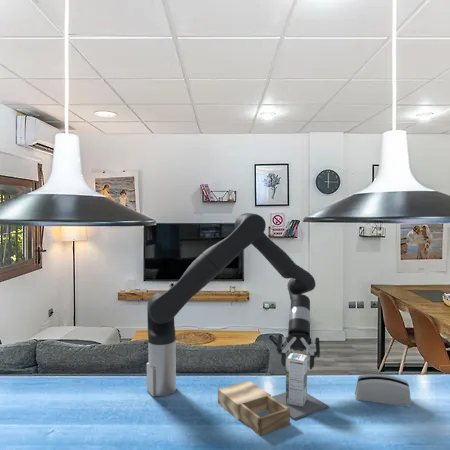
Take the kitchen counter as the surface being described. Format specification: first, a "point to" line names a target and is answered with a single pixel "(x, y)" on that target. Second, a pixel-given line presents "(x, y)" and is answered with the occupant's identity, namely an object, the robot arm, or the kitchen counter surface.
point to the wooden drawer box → (254, 407)
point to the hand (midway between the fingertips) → (297, 367)
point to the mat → (299, 411)
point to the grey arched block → (383, 389)
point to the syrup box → (296, 379)
